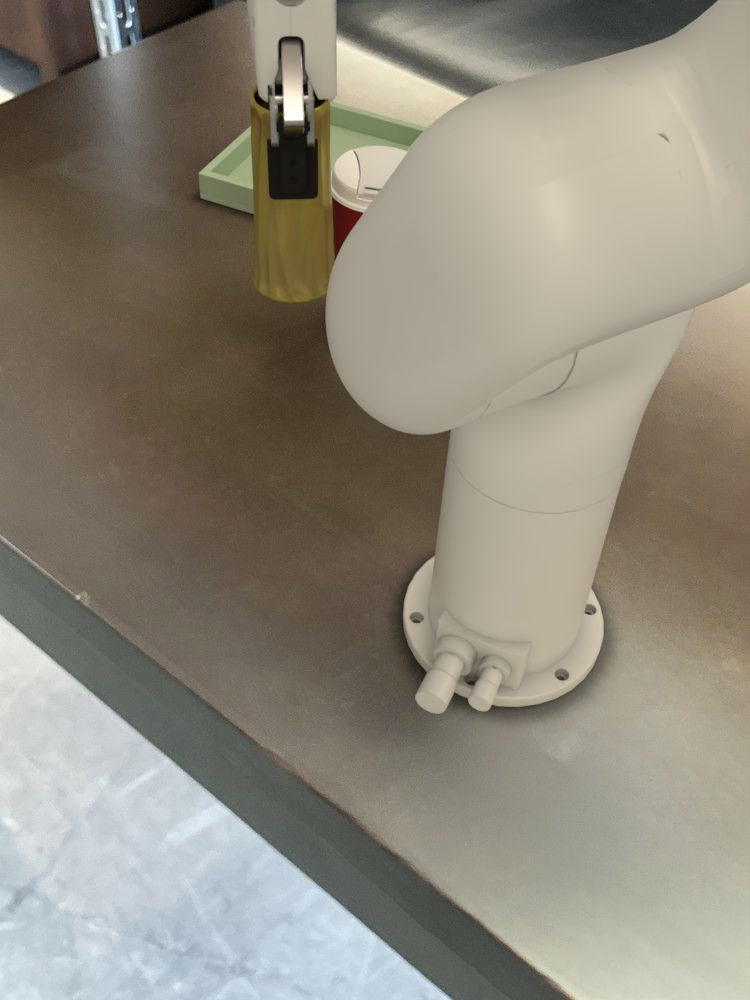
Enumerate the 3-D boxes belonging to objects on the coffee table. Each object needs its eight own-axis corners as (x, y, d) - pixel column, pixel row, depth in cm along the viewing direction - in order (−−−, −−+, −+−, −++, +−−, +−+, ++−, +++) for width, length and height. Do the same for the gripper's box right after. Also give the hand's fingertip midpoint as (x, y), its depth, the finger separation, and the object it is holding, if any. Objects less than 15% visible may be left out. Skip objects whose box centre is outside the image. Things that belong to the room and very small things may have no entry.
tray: (354, 245, 101) (355, 219, 99) (200, 198, 105) (198, 173, 103) (432, 153, 112) (434, 129, 110) (289, 114, 116) (289, 89, 114)
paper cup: (410, 360, 90) (423, 205, 80) (315, 344, 91) (316, 189, 81) (427, 301, 95) (441, 148, 85) (337, 287, 96) (340, 134, 86)
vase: (351, 274, 84) (355, 89, 74) (304, 315, 81) (301, 127, 71) (283, 247, 87) (278, 64, 76) (235, 286, 83) (222, 99, 73)
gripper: (364, -61, 59) (357, 242, 72) (341, -166, 71) (338, 111, 84) (217, -61, 58) (236, 245, 71) (218, -167, 70) (234, 112, 83)
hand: (291, 170), depth 77 cm, fingers closed on vase, 5 cm apart
